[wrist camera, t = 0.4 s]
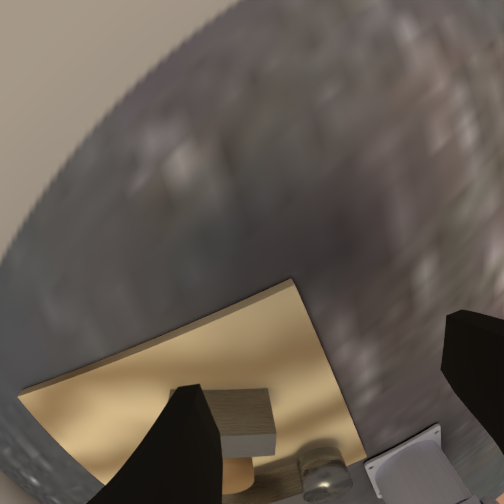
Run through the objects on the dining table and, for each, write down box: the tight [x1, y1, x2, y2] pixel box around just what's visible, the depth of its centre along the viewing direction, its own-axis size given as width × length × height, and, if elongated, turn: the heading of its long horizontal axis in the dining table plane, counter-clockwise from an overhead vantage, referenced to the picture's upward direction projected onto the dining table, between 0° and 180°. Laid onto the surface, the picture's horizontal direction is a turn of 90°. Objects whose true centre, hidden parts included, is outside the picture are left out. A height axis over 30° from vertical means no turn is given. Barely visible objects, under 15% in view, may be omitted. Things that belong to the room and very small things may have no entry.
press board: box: [18, 278, 367, 485], centre depth 20 cm, size 18×22×1 cm
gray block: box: [168, 388, 277, 458], centre depth 17 cm, size 2×6×4 cm, turn 90°
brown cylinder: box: [222, 457, 254, 494], centre depth 19 cm, size 4×4×3 cm
